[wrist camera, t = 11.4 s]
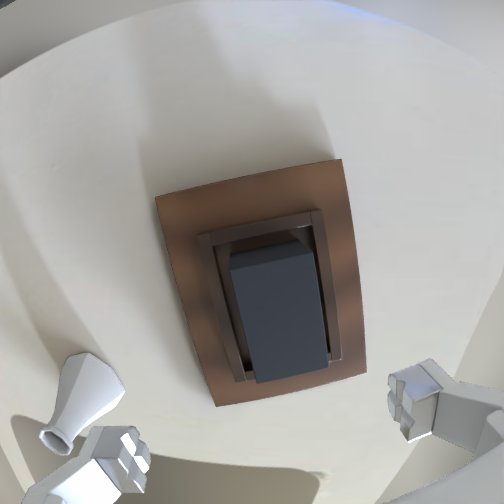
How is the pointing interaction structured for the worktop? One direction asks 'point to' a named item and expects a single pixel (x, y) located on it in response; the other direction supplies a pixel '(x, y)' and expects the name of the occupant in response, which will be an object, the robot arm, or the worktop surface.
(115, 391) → the flask
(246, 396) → the back plate
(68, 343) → the worktop surface
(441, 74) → the worktop surface
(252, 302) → the dark gray block
